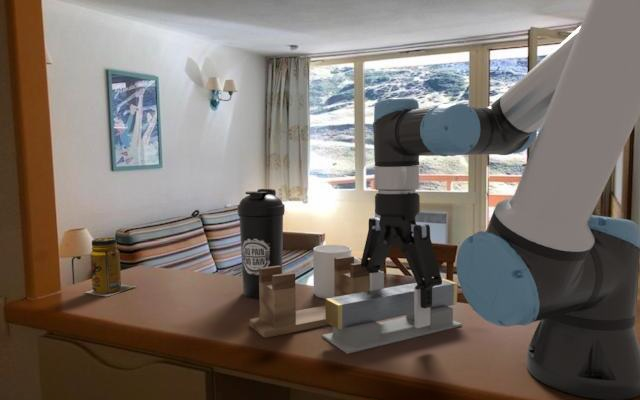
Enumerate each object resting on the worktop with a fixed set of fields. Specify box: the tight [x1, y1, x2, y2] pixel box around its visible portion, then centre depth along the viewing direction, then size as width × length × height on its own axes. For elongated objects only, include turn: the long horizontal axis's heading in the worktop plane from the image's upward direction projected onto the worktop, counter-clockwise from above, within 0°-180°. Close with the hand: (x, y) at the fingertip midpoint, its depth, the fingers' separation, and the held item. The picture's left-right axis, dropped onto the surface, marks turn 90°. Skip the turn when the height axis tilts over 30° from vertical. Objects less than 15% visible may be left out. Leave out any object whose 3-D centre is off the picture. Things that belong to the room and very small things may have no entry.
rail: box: [324, 277, 458, 330], centre depth 89 cm, size 26×4×4 cm, turn 119°
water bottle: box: [237, 188, 286, 300], centre depth 112 cm, size 10×10×23 cm
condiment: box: [84, 237, 137, 297], centre depth 116 cm, size 7×8×12 cm
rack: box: [249, 255, 370, 339], centre depth 95 cm, size 7×24×10 cm, turn 119°
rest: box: [321, 306, 463, 355], centre depth 90 cm, size 8×24×3 cm, turn 119°
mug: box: [312, 244, 361, 300], centre depth 111 cm, size 12×8×10 cm
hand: (398, 316), depth 88 cm, fingers open, 12 cm apart
